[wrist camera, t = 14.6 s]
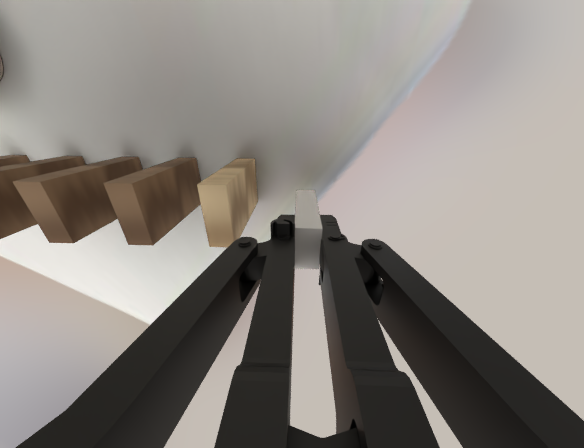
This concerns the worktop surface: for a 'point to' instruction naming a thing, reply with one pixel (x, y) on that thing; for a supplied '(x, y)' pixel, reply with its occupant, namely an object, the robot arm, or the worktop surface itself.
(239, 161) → the tile
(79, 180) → the tile
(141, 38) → the worktop surface
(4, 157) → the tile
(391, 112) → the worktop surface
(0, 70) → the coffee cup
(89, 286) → the worktop surface
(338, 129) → the worktop surface
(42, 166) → the tile
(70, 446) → the robot arm
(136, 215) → the tile
